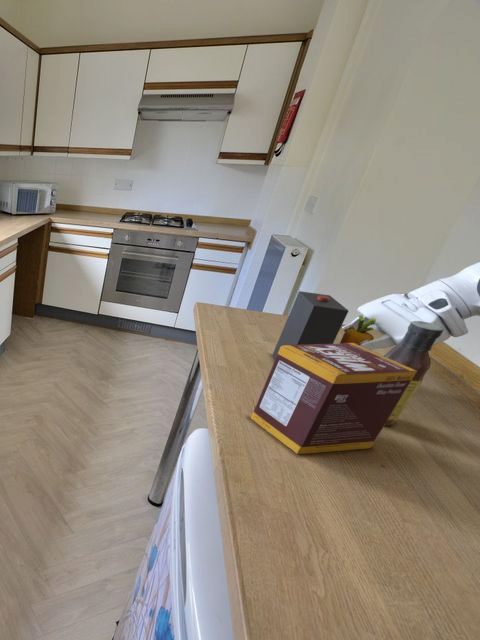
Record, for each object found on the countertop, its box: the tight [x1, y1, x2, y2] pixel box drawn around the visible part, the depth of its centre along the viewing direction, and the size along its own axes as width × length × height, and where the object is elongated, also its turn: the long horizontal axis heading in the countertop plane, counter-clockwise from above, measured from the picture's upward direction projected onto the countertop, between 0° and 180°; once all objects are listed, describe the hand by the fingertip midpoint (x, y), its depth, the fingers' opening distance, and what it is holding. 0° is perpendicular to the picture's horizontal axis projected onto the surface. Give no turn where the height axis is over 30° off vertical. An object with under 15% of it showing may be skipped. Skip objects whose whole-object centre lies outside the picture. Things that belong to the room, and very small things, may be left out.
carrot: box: [339, 314, 376, 345], centre depth 91 cm, size 5×5×15 cm
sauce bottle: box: [383, 321, 444, 426], centre depth 75 cm, size 7×6×20 cm
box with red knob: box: [271, 290, 349, 360], centre depth 92 cm, size 18×11×18 cm, turn 67°
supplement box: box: [250, 342, 417, 455], centre depth 71 cm, size 10×15×16 cm
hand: (352, 339), depth 91 cm, fingers open, 8 cm apart
